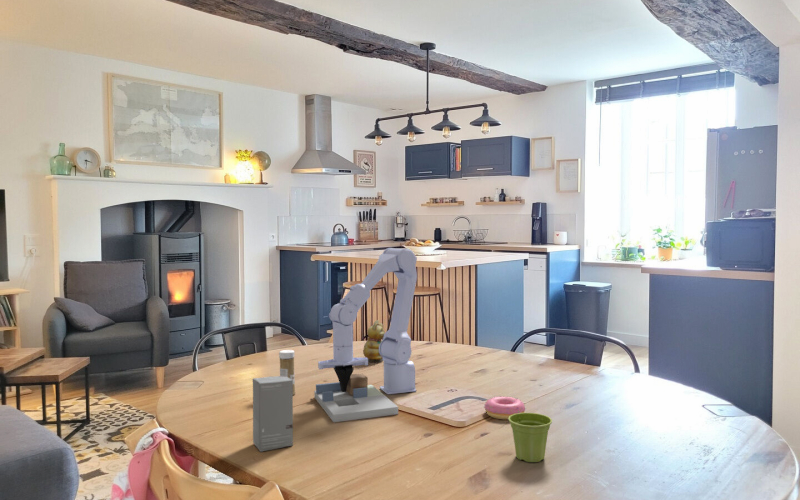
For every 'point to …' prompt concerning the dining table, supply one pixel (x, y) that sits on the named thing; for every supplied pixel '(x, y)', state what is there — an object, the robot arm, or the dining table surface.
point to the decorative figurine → (374, 342)
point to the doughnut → (503, 407)
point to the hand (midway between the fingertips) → (343, 391)
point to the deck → (353, 402)
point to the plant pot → (530, 435)
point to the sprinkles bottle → (287, 365)
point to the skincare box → (272, 412)
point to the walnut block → (357, 382)
